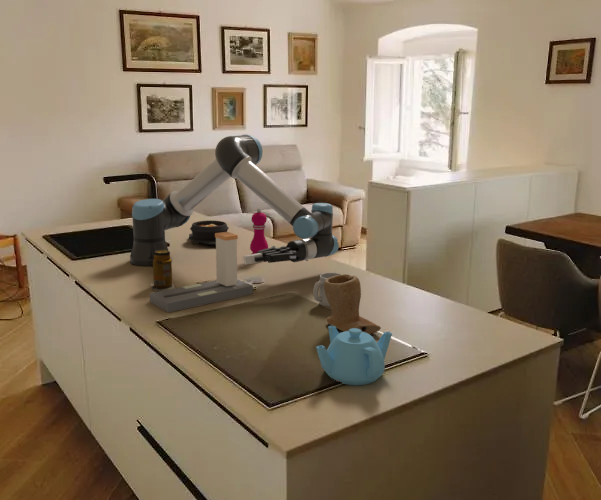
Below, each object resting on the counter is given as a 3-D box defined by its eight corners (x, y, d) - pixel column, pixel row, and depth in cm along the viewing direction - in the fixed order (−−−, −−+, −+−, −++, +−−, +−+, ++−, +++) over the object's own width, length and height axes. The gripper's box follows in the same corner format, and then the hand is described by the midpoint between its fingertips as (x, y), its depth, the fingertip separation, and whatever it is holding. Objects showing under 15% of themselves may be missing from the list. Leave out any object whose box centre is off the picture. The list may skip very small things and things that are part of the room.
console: (232, 285, 201) (232, 276, 200) (252, 293, 192) (252, 285, 191) (149, 301, 183) (149, 292, 182) (167, 312, 174) (167, 303, 173)
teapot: (311, 383, 131) (312, 337, 128) (328, 356, 145) (329, 315, 142) (379, 394, 127) (382, 346, 124) (390, 365, 141) (393, 322, 138)
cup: (347, 305, 183) (348, 277, 180) (319, 310, 178) (319, 281, 176) (334, 298, 189) (335, 271, 187) (307, 303, 184) (307, 275, 182)
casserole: (241, 245, 258) (241, 226, 256) (201, 250, 249) (201, 230, 247) (217, 234, 279) (216, 217, 277) (179, 238, 269) (178, 220, 267)
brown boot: (315, 324, 167) (316, 272, 163) (351, 317, 172) (352, 267, 168) (343, 342, 154) (345, 287, 150) (381, 335, 159) (384, 281, 155)
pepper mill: (269, 256, 240) (269, 207, 236) (266, 260, 233) (266, 210, 229) (251, 255, 241) (251, 206, 236) (248, 259, 234) (248, 209, 229)
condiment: (172, 282, 203) (170, 248, 200) (175, 289, 195) (174, 254, 193) (150, 284, 201) (148, 249, 198) (153, 291, 193) (151, 255, 190)
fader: (227, 279, 196) (226, 231, 192) (238, 284, 191) (237, 235, 187) (215, 282, 193) (214, 233, 189) (226, 286, 188) (225, 236, 184)
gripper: (312, 264, 205) (256, 275, 190) (289, 256, 215) (234, 267, 200) (312, 243, 203) (256, 253, 189) (289, 236, 213) (233, 245, 198)
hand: (244, 260), depth 194 cm, fingers closed
